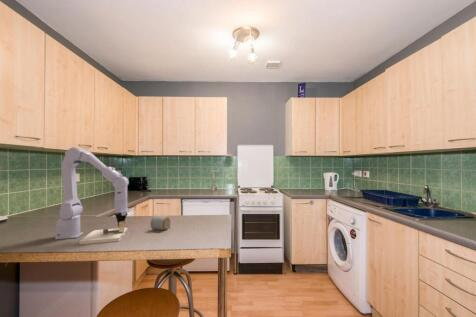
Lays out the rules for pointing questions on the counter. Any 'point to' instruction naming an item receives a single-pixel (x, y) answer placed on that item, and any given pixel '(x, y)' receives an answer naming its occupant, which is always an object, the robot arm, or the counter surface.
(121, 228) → the wooden handled crank
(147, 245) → the counter surface
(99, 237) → the board
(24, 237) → the counter surface
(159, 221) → the grey cylinder
